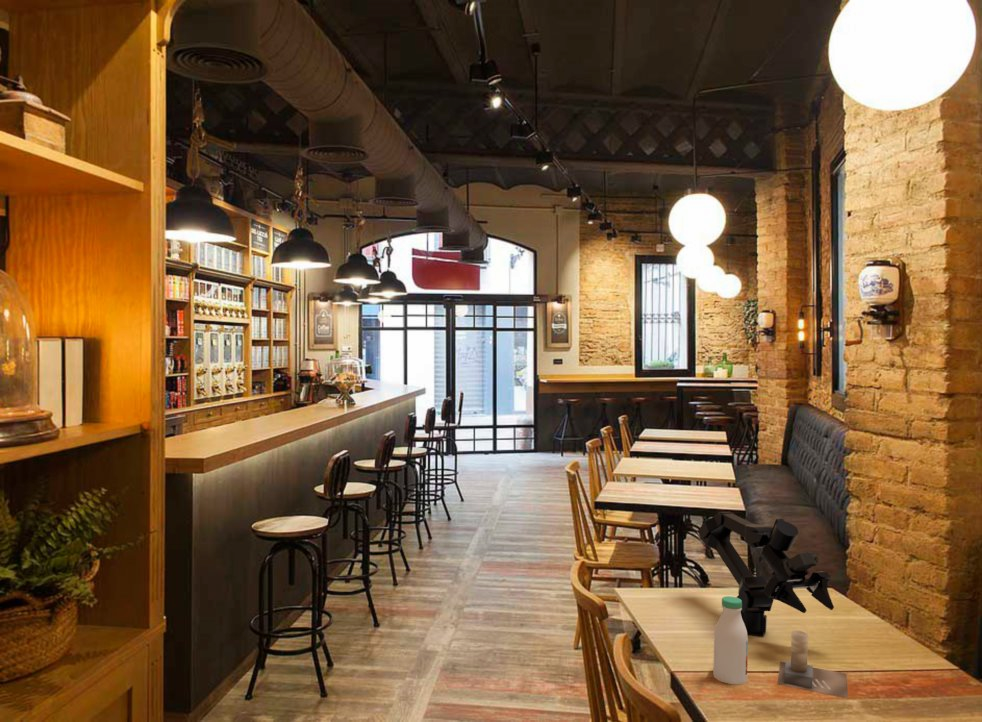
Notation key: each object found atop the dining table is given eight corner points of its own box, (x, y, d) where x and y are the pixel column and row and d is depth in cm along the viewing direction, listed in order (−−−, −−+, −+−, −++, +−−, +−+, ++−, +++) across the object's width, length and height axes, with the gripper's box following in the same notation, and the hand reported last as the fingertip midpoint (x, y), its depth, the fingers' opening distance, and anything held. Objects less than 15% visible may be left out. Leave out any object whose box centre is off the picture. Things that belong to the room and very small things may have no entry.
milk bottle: (742, 692, 167) (744, 607, 167) (709, 683, 171) (711, 600, 171) (750, 679, 173) (752, 597, 173) (717, 671, 177) (719, 591, 177)
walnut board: (777, 689, 169) (777, 684, 169) (780, 666, 181) (780, 661, 181) (848, 703, 162) (848, 698, 162) (846, 678, 175) (846, 673, 175)
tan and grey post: (784, 682, 169) (785, 636, 169) (785, 671, 176) (786, 626, 176) (812, 688, 167) (813, 641, 167) (812, 676, 173) (813, 631, 173)
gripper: (766, 543, 185) (805, 590, 173) (820, 540, 192) (861, 585, 180) (748, 573, 190) (785, 621, 178) (801, 569, 197) (840, 615, 185)
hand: (819, 610), depth 180 cm, fingers open, 9 cm apart
